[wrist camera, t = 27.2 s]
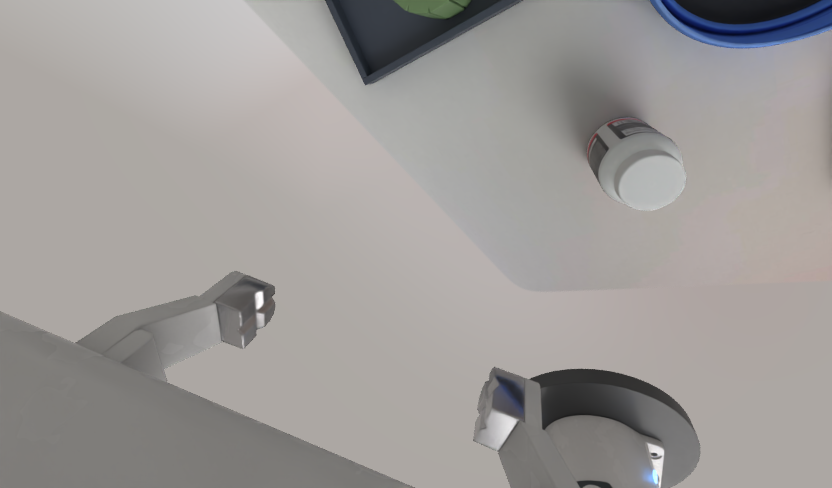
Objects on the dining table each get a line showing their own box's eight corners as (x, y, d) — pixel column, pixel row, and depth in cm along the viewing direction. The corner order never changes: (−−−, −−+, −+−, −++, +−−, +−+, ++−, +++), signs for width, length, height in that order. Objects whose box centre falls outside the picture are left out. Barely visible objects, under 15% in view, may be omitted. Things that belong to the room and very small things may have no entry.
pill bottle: (614, 187, 33) (643, 234, 25) (572, 151, 33) (588, 188, 24) (668, 142, 30) (720, 179, 22) (622, 102, 30) (659, 125, 22)
